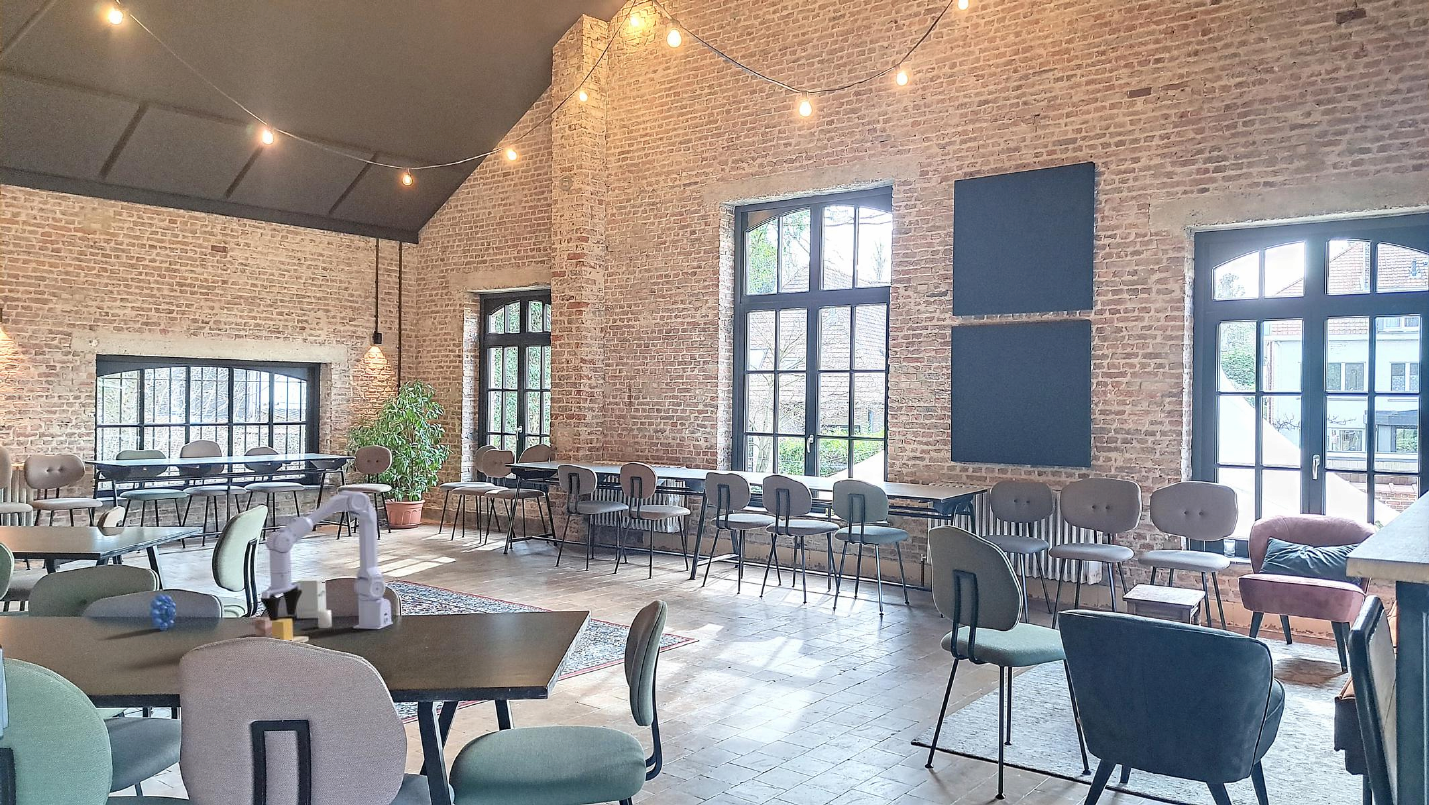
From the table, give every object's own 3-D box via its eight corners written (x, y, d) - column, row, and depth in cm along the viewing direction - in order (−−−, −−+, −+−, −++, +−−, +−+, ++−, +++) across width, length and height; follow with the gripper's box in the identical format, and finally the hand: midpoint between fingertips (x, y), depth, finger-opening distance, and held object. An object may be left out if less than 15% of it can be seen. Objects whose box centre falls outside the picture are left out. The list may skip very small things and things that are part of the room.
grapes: (164, 634, 321) (162, 597, 321) (144, 634, 322) (143, 597, 322) (187, 626, 332) (186, 589, 332) (168, 626, 333) (167, 589, 333)
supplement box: (318, 618, 339) (317, 580, 338) (296, 618, 339) (295, 581, 339) (327, 613, 346) (326, 576, 346) (305, 613, 346) (304, 576, 346)
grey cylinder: (334, 625, 327) (333, 610, 327) (326, 628, 323) (325, 612, 323) (323, 625, 328) (323, 609, 328) (315, 628, 324) (315, 612, 324)
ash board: (308, 640, 307) (308, 636, 307) (285, 649, 298) (285, 645, 298) (280, 639, 310) (280, 635, 310) (257, 647, 301) (257, 643, 301)
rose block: (274, 633, 319) (274, 617, 319) (265, 636, 315) (265, 620, 315) (264, 632, 320) (263, 616, 320) (254, 635, 316) (254, 619, 316)
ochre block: (292, 638, 305) (292, 618, 305) (283, 642, 301) (283, 622, 301) (281, 638, 306) (281, 618, 306) (272, 641, 303) (271, 621, 302)
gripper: (286, 567, 312) (287, 611, 312) (252, 576, 298) (254, 622, 298) (305, 568, 310) (307, 612, 310) (272, 577, 296) (274, 623, 296)
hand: (282, 617), depth 304 cm, fingers open, 7 cm apart
